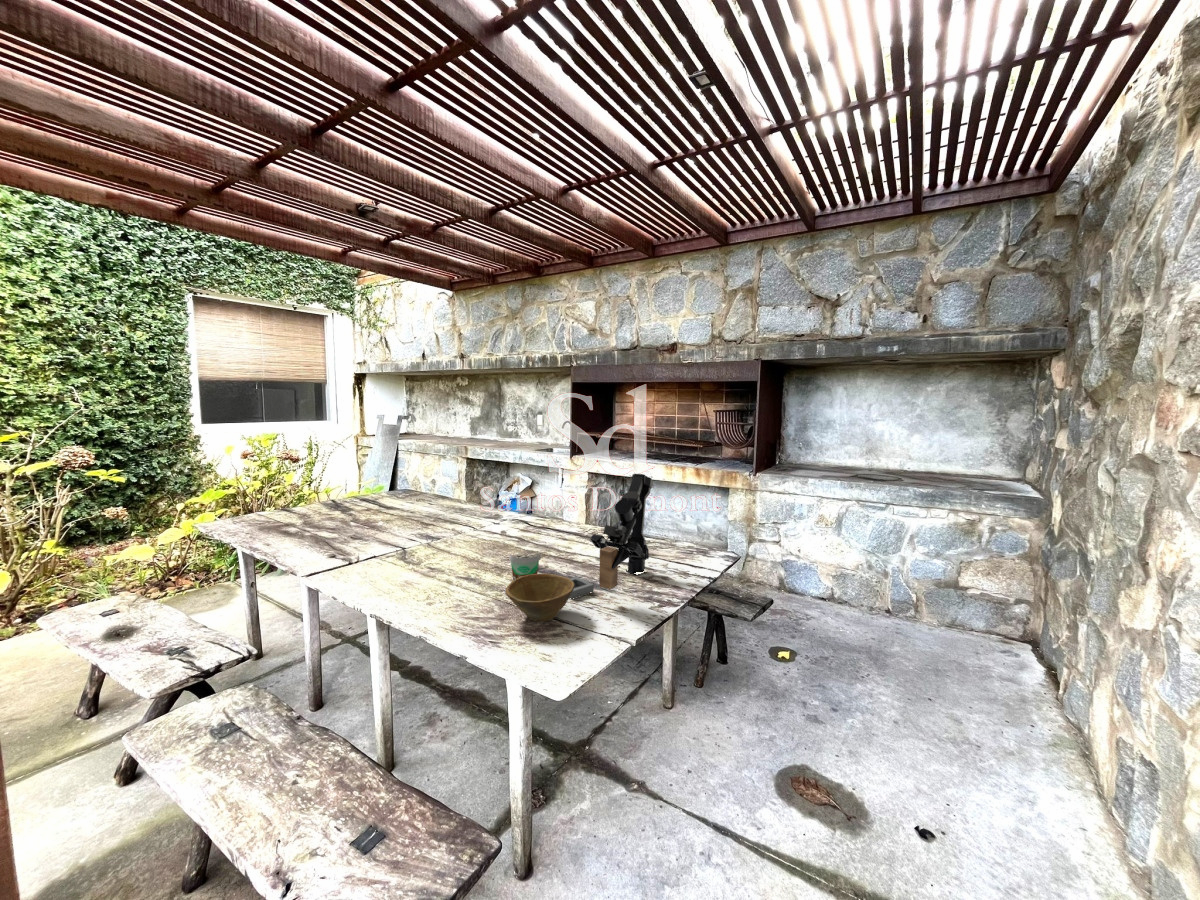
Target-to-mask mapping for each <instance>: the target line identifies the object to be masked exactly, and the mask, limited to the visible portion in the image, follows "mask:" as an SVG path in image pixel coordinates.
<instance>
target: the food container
mask: <svg viewBox="0 0 1200 900" xmlns="http://www.w3.org/2000/svg"><path fill="white" fill-rule="evenodd" d="M541 559H542V555H541V554H540V552H538V553H537V554H521V555H516V556H515V555H514V556H513V555H512V554H511V553H510V554H509V558H508V560H509V562H510V566H511V574H512V581H514V580H515V579H517V578H519V577H522V576H526V575H530V574H539V573H538V571H539V563H540V560H541Z"/></svg>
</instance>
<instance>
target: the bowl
mask: <svg viewBox="0 0 1200 900" xmlns="http://www.w3.org/2000/svg"><path fill="white" fill-rule="evenodd" d="M570 579H571V578H568V577H566V576H563V575H558V574H551V573H543V572H542V573H538V574H530V575H526V576H522V577H519V578H517V579H515V580H512V581H511V582H510V583H509V584H508V585H506V589H505V593H506V597H508V599H510V601H511V602H512V603H513V604H514V605H515V606H516V608H517V609H519V610H520V612H522V613H523V614H524V615H526V616H527V617H528V618H529V619H530V620H531V621H533V622H542V623H543V622H548V621H551V620H553V619H555V618H556V616H557V615H558V614H559V612H561V610H562V609H563V607H565V606H566V605H567V602H568V601H569V597H570V595H571V593H572V592H573V589H574V586H575V585H574V582H573V581H572V580H570Z"/></svg>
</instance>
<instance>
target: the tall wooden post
mask: <svg viewBox="0 0 1200 900" xmlns="http://www.w3.org/2000/svg"><path fill="white" fill-rule="evenodd" d="M617 554H618V548H615V547H610V546H609V547H608V546H606V547H604V548H602V549H600V548H599V575H598V576H599V578H598V581H599V585H598V586H599V587H600V588H605V589H608V590H612V589H613V588H615V587H617V586H618V581H619V579H618V574H619V573H618V571H619V570H618V569H619V567H618V566H619V565H618V566H617V567H615V568H614V569H612V565H613V562H614V560H615V558H616V556H617Z"/></svg>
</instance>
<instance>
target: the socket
mask: <svg viewBox="0 0 1200 900" xmlns="http://www.w3.org/2000/svg"><path fill="white" fill-rule="evenodd" d="M569 579H570V580H572V581H573V582H574V585H575V586H574V589H573V592H572V593H571V595H570V597H569V598H571V599H573V598H576V597H579V596H582V595H585V594H588V593H590V592H593V591H595V587H594V585H595V584H593V583H591V582H589V581H586V580H584V579H583V578H581V577H578V576H575V577H571V578H569ZM588 595H589V594H588ZM585 596H586V595H585ZM582 597H583V596H582ZM579 598H580V597H579ZM571 599H570V600H571ZM576 599H577V598H576ZM573 600H574V599H573Z"/></svg>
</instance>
